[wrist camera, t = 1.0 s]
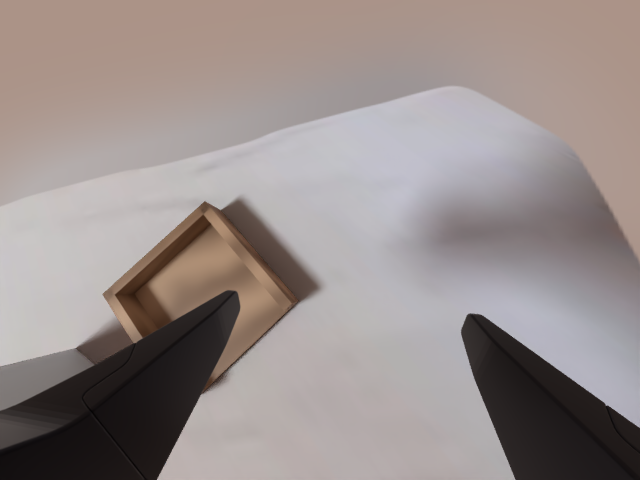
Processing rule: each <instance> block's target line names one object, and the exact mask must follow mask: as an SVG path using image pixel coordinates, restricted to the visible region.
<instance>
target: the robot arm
mask: <svg viewBox="0 0 640 480" xmlns="http://www.w3.org/2000/svg"><path fill="white" fill-rule="evenodd" d="M240 308H241V306H240V300H239V295H238V292H237V291H234V290H226V291H224V292H223V293H221V294H219V295H217V296H216V297H214V298H212V299H210V300H209V301H207V302H205V303H203V304H202V305H200V306H198V307H196V308H195V309H193V310H191V311H189V312H188V313H186V314H184V315H182V316H181V317H179V318H177V319H175V320H174V321H172V322H170V323H168V324H167V325H165V326H163V327H161V328H160V329H158V330H156V331H154V332H153V333H151V334H149V335H147V336H146V337H144V338H142V339H140V340H139V341H137V343H133V344H132V345H130V346H128V347H126V348H125V349H123V350H121V351H119V352H117V353H116V354H114V355H112V356H110V357H108V358H107V359H105V360H103V361H101V362H99V363H97V364H95V365H93V366H92V367H90V368H88V369H86V370H84V371H82V372H80V373H78V374H76V375H74V376H72V377H70V378H68V379H66V380H64V381H62V382H60V383H58V384H56V385H54V386H52V387H50V388H48V389H46V390H44V391H42V392H40V393H39V394H37V395H35V396H33V397H31V398H29V399H27V400H25V401H22V402H20V403H18V404H16V405H14V406H11V407H9V408H6V409H3V410H1V411H0V480H157V478H158V476H159V474H160V473H161V471H162V469H163V467H164V465H165V463H166V461H167V459H168V457H169V455H170V453H171V451H172V449H173V447H174V446H175V444H176V442H177V440H178V438H179V436H180V434H181V432H182V430H183V428H184V426H185V424H186V422H187V420H188V419H189V417H190V415H191V413H192V411H193V409H194V407H195V405H196V403H197V401H198V399H199V397H200V395H201V393H202V392H203V390H204V388H205V386H206V384H207V382H208V380H209V378H210V376H211V374H212V372H213V370H214V368H215V366H216V365H217V363H218V361H219V359H220V357H221V355H222V353H223V351H224V349H225V347H226V345H227V342H228V340H229V338H230V335H231V333H232V330H233V327H234V325H235V322H236V320H237V317H238V315H239V312H240ZM461 335H462V339H463V342H464V345H465V349H466V352H467V356H468V359H469V363H470V366H471V369H472V373H473V376H474V379H475V381H476V384H477V386H478V389H479V391H480V394H481V396H482V399H483V401H484V403H485V406H486V408H487V411H488V413H489V416H490V418H491V421H492V423H493V425H494V428H495V430H496V433H497V435H498V438H499V440H500V443H501V445H502V448H503V450H504V452H505V455H506V457H507V460H508V462H509V465H510V467H511V470H512V472H513V475H514V477H515V479H516V480H640V428H639V427H637V426H636V425H635V424H633V423H632V422H630V421H629V420H628V419H626V418H625V417H623V416H622V415H621V414H619V413H618V412H616V411H615V410H614V409H612V408H611V407H609V406H606V405H605V403H604V402H602V401H601V400H600V399H598V398H597V397H595V396H594V395H593V394H591V393H590V392H588V391H587V390H586V389H584V388H583V387H581V386H580V385H579V384H577V383H576V382H575V381H573V380H572V379H570V378H569V377H568V376H566V375H565V374H563V373H562V372H561V371H559V370H558V369H556V368H555V367H554V366H552V365H551V364H549V363H548V362H547V361H545V360H544V359H542V358H541V357H540V356H538V355H537V354H535V353H534V352H533V351H531V350H530V349H529V348H527V347H526V346H524V345H523V344H522V343H520V342H519V341H517V340H516V339H515V338H513V337H512V336H510V335H509V334H508V333H506V332H505V331H503V330H502V329H501V328H499V327H498V326H496V325H495V324H494V323H492V322H491V321H490V320H488V319H487V318H485V317H484V316H482V315H480V314H468V315H467V317H466V319H465V322H464V324H463V327H462V330H461Z"/></svg>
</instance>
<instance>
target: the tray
mask: <svg viewBox="0 0 640 480" xmlns="http://www.w3.org/2000/svg"><path fill="white" fill-rule="evenodd" d="M226 290H234V291H237V292H238V295H239V300H240V306H241V308H240V312H239V315H238V317H237V320H236V322H235V325H234V327H233V330H232V333H231V335H230V338H229V340H228V342H227V345H226V347H225V349H224V351H223V353H222V355H221V357H220V359H219V361H218V363H217V365H216V366H215V368H214V370H213V372H212V374H211V376H210V378H209V380H208V382H207V384H206V386H205V388H204V390H203V391H205V390H206V389H207V388H208V387H209V386H210V385H211V384H212V383H213V382H214V381H215V380H216V379H217V378H218V377H219V376H220V375H221V374H222V373H223V372H224V371H226V370H227V369H228V368H229V367H230V366H231V365H232V364H233V363H234V362H235V361H236V360H237V359H238V358H239V357H240V356H241V355H242V354H243V353H244V352H245V351H247V350H248V349H249V348H250V347H251V346H252V345H253V344H254V343H255V342H256V341H257V340H258V339H259V338H260V337H261V336H262V335H263V334H264V333H265V332H267V331H268V330H269V329H270V328H271V327H272V326H273V325H274V324H275V323H276V322H277V321H278V320H279V319H280V318H281V317H282V316H283V315H284V314H285V313H286V312H288V311H289V310H290V309H291V308H292V307H293V306H294V305H295V304H296V303H297V302H298V299H297V298H296V297H295V296H294V295H293V294H292V292H291V291H290V290H289V289H288V288H287V287H286V286H285V284H284V283H283V282H282V281H281V280H280V279H279V277H278V276H277V275H276V274H275V273H274V272H273V270H272V269H271V268H270V267H269V266H268V265H267V264H266V262H265V261H264V260H263V259H262V258H261V257H260V255H259V254H258V253H257V252H256V251H255V250H254V248H253V247H252V246H251V245H250V244H249V243H248V241H247V240H246V239H245V238H244V237H243V236H242V235H241V233H240V232H239V231H238V230H237V229H236V228H235V226H234V225H233V224H232V223H231V222H230V221H229V219H228V218H227V217H226V216H225V215H224V214H223V213H222V211H221V210H219V209H218V208H216V207H214V206H212V205H211V204H209V203H207V202H204V203H202V204H201V205H200V206H199V207H198V208H197V209H196V210H195V211H194V212H193V213H191V214H190V215H189V216H188V217H187V218H186V219H185V220H184V221H183V222H182V223H180V224H179V225H178V226H177V227H176V228H175V229H174V230H173V231H172V232H170V233H169V234H168V235H167V236H166V237H165V238H164V239H163V240H162V241H161V242H159V243H158V244H157V245H156V246H155V247H154V248H153V249H152V250H151V251H150V252H148V253H147V254H146V255H145V256H144V257H143V258H142V259H141V260H140V261H138V262H137V263H136V264H135V265H134V266H133V267H132V268H131V269H130V270H129V271H127V272H126V273H125V274H124V275H123V276H122V277H121V278H120V279H119V280H118V281H116V282H115V283H114V284H113V285H112V286H111V287H110V288H109V289H108V290H107V291H105V292H104V293H103V296H104V298H105V299H106V301H107V302H108V304H109V305H110V307H111V309H112V310H113V312H114V313H115V315H116V317H117V318H118V320H119V321H120V323H121V324H122V326H123V328H124V329H125V331H126V332H127V334H128V336H129V337H130V339H131V340H132V342H133V343H137V341H139V340H140V339H142V338H144V337H146V336H147V335H149V334H151V333H153V332H154V331H156V330H158V329H160V328H161V327H163V326H165V325H167V324H168V323H170V322H172V321H174V320H175V319H177V318H179V317H181V316H182V315H184V314H186V313H188V312H189V311H191V310H193V309H195V308H196V307H198V306H200V305H202V304H203V303H205V302H207V301H209V300H210V299H212V298H214V297H216V296H217V295H219V294H221V293H223V292H224V291H226Z"/></svg>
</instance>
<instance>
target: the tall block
mask: <svg viewBox="0 0 640 480" xmlns="http://www.w3.org/2000/svg"><path fill="white" fill-rule="evenodd" d="M93 365H94V364H93V363H92V362H91V361H90V360H88V359H87V358H86V357H85V356H84V355H83V354H81V353H80V352H79V351H78V350H77V349H76V348H75V349H70V350H66V351H62V352H58V353H54V354H50V355H46V356H42V357H38V358H34V359H30V360H26V361H21V362H17V363H13V364H9V365H5V366H1V367H0V411H1V410H3V409H6V408H9V407H11V406H14V405H16V404H18V403H20V402H22V401H25V400H27V399H29V398H31V397H33V396H35V395H37V394H39V393H40V392H42V391H44V390H46V389H48V388H50V387H52V386H54V385H56V384H58V383H60V382H62V381H64V380H66V379H68V378H70V377H72V376H74V375H76V374H78V373H80V372H82V371H84V370H86V369H88V368H90V367H92V366H93Z"/></svg>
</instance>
